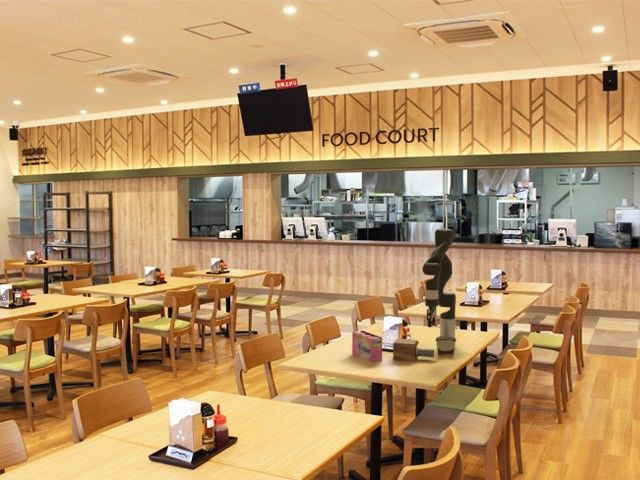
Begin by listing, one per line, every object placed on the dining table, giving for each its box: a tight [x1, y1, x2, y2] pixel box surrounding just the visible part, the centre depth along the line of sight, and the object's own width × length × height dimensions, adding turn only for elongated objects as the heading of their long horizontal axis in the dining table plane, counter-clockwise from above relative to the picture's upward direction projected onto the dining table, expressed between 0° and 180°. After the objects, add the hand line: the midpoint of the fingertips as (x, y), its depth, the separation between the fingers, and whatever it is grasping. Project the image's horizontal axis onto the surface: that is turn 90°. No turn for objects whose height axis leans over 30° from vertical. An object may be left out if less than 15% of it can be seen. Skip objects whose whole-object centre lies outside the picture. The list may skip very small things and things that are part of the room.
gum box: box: [351, 330, 383, 363], centre depth 385 cm, size 24×8×14 cm, turn 26°
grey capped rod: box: [415, 346, 435, 359], centre depth 379 cm, size 6×19×6 cm, turn 73°
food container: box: [434, 335, 457, 356], centre depth 392 cm, size 12×6×10 cm, turn 84°
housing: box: [392, 338, 418, 363], centre depth 381 cm, size 12×12×10 cm
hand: (431, 326), depth 378 cm, fingers open, 8 cm apart
